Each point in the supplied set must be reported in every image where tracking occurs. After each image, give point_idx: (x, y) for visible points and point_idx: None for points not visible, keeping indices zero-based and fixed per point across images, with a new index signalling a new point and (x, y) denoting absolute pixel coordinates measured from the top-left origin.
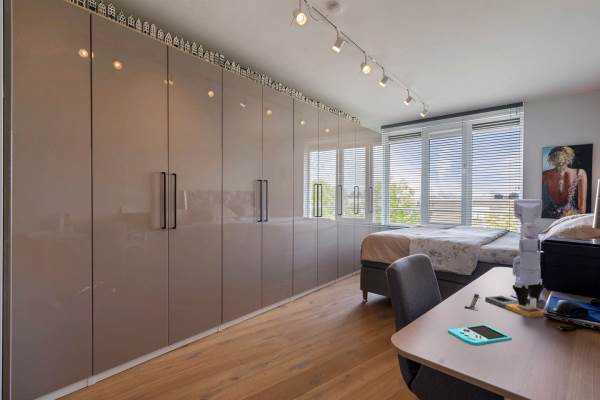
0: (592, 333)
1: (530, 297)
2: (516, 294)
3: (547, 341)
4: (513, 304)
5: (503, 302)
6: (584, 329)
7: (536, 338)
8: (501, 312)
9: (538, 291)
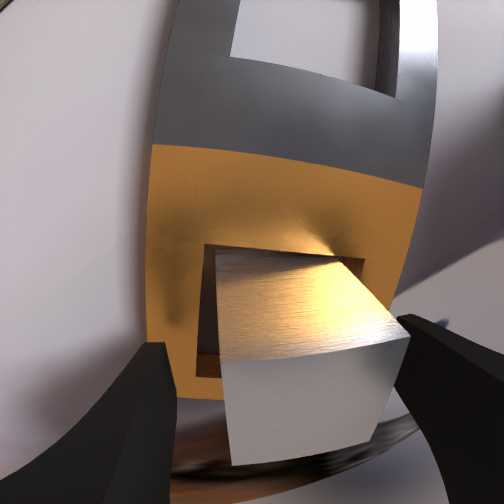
0: (262, 495)
1: (337, 425)
2: (68, 435)
3: (28, 462)
4: (268, 172)
5: (219, 69)
6: (281, 481)
7: (6, 444)
8: (27, 213)
9: (449, 472)
